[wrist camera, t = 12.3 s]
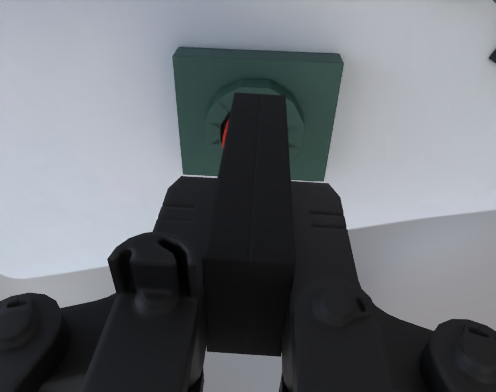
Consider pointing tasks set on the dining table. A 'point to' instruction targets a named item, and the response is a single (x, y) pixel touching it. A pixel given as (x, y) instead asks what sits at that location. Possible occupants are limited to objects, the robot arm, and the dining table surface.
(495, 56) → the lever stand
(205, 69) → the block
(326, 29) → the dining table surface
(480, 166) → the dining table surface
